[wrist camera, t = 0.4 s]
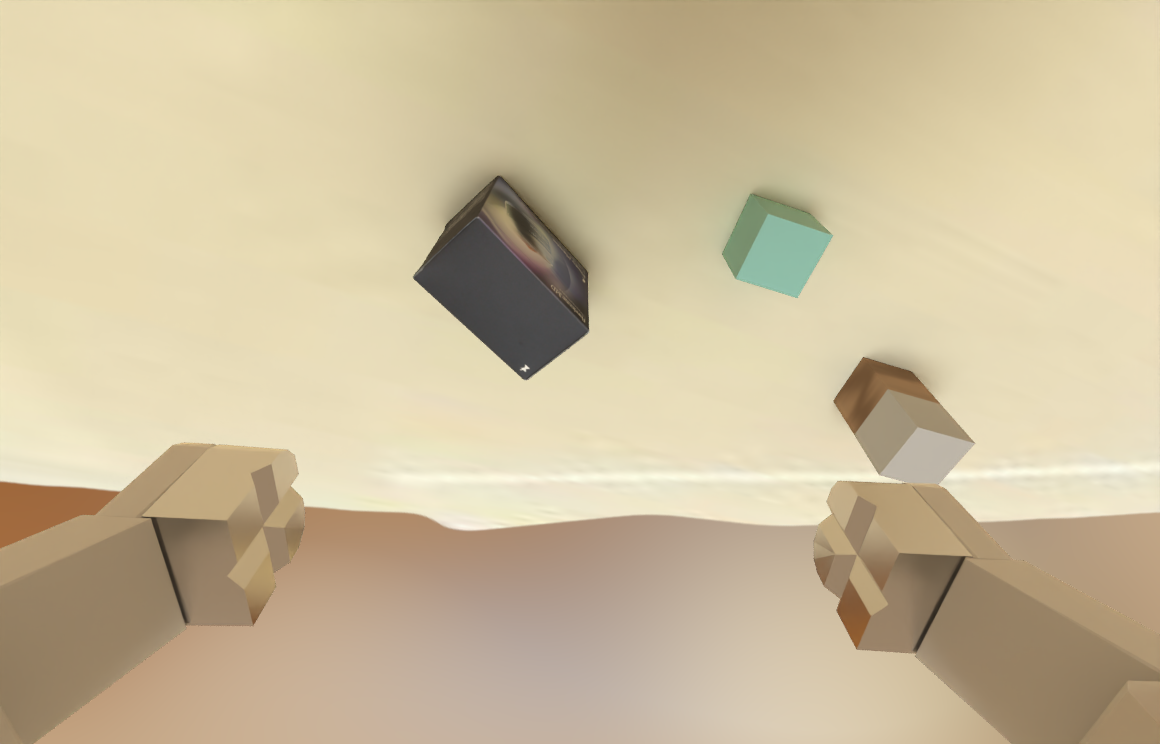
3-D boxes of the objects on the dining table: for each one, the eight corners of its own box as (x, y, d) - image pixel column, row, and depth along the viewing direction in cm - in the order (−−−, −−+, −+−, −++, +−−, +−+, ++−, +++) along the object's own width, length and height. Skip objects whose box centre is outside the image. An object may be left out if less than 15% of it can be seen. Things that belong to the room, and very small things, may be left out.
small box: (594, 270, 47) (596, 333, 38) (536, 317, 49) (525, 386, 40) (501, 169, 42) (478, 213, 33) (442, 226, 45) (407, 281, 36)
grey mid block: (887, 389, 47) (917, 427, 42) (940, 404, 47) (975, 443, 43) (854, 434, 49) (879, 475, 45) (904, 448, 50) (933, 489, 46)
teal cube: (750, 193, 43) (768, 213, 39) (809, 213, 44) (833, 235, 40) (721, 253, 46) (735, 278, 41) (778, 271, 46) (797, 298, 42)
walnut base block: (863, 357, 51) (888, 389, 47) (911, 371, 51) (940, 404, 47) (833, 400, 53) (854, 434, 49) (879, 413, 54) (904, 448, 50)
